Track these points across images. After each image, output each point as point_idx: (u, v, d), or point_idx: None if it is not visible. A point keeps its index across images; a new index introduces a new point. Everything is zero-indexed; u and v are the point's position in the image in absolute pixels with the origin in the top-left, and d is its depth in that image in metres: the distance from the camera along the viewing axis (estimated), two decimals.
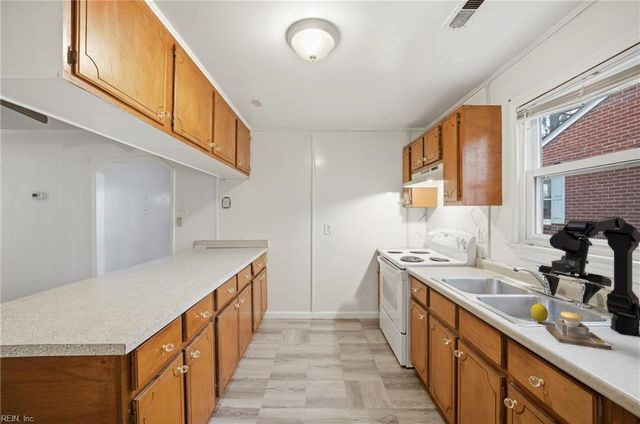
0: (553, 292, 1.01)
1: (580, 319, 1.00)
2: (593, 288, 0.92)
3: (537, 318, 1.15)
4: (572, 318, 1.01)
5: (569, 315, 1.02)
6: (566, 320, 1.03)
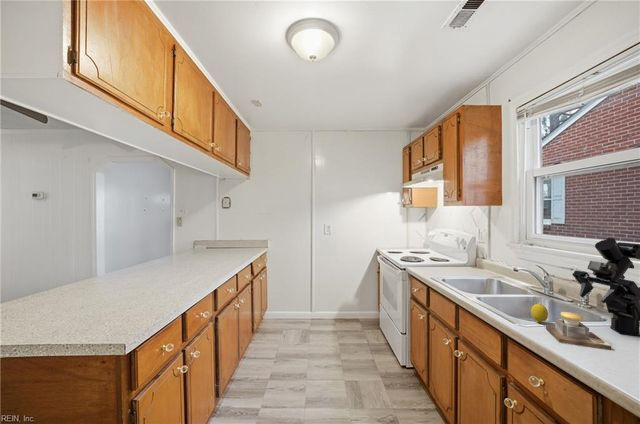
0: (583, 293, 1.08)
1: (580, 319, 1.00)
2: (617, 293, 1.01)
3: (537, 318, 1.15)
4: (572, 318, 1.01)
5: (569, 315, 1.02)
6: (566, 320, 1.03)
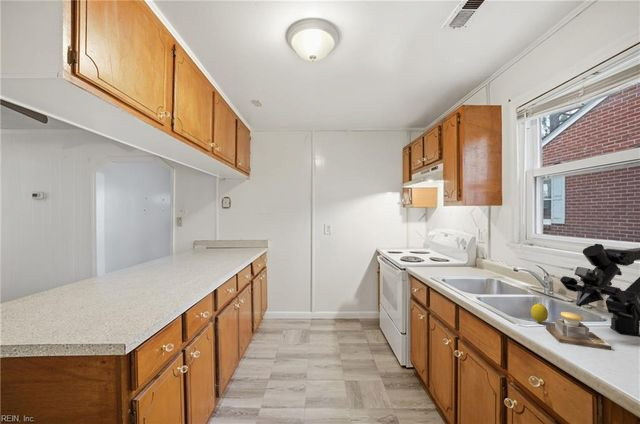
0: None
1: (580, 319, 1.00)
2: (592, 297, 1.03)
3: (537, 318, 1.15)
4: (572, 318, 1.01)
5: (569, 315, 1.02)
6: (566, 320, 1.03)
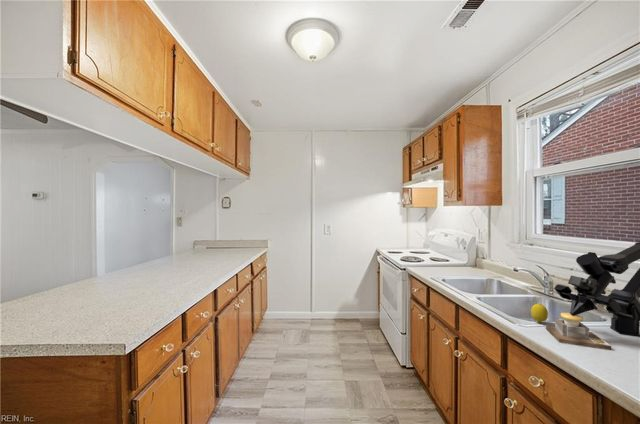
0: None
1: (580, 320, 1.00)
2: (586, 306, 1.03)
3: (537, 318, 1.15)
4: (572, 319, 1.01)
5: (569, 316, 1.02)
6: (566, 321, 1.03)
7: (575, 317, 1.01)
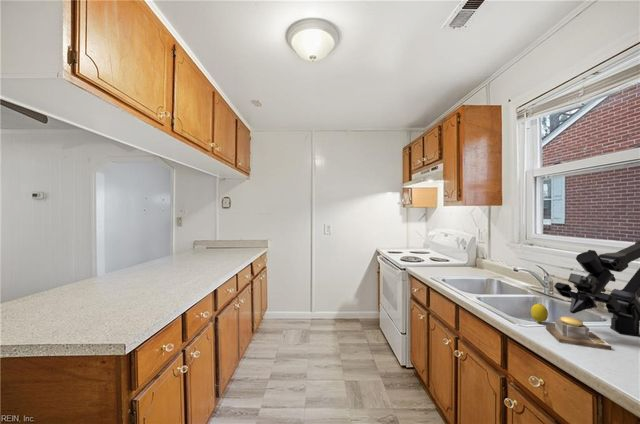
0: None
1: (580, 324, 1.00)
2: (586, 304, 1.02)
3: (537, 318, 1.15)
4: (572, 323, 1.01)
5: (569, 320, 1.02)
6: None
7: (575, 321, 1.01)
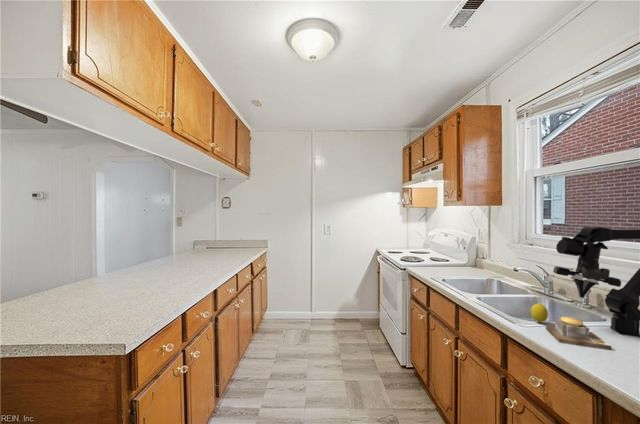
0: None
1: (580, 324, 1.00)
2: None
3: (537, 318, 1.15)
4: (572, 323, 1.01)
5: (569, 320, 1.02)
6: None
7: (575, 321, 1.01)
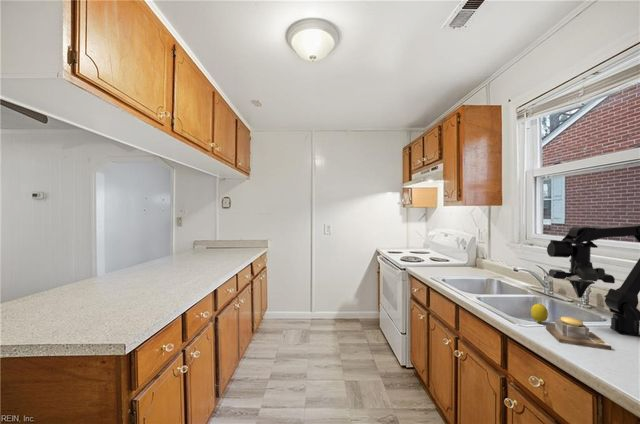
0: None
1: (580, 324, 1.00)
2: None
3: (537, 318, 1.15)
4: (572, 323, 1.01)
5: (569, 320, 1.02)
6: None
7: (575, 321, 1.01)
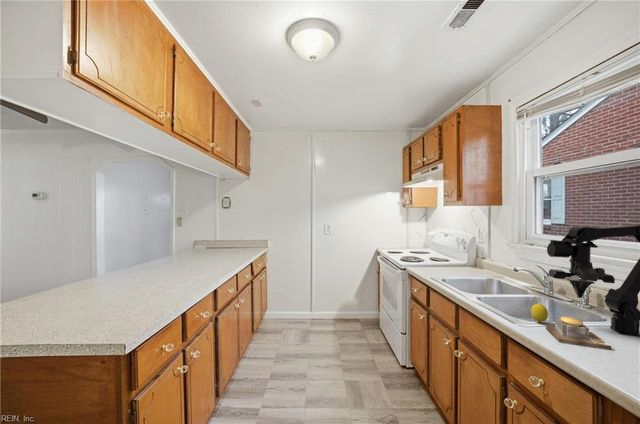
0: None
1: (580, 324, 1.00)
2: None
3: (537, 318, 1.15)
4: (572, 323, 1.01)
5: (569, 320, 1.02)
6: None
7: (575, 321, 1.01)
